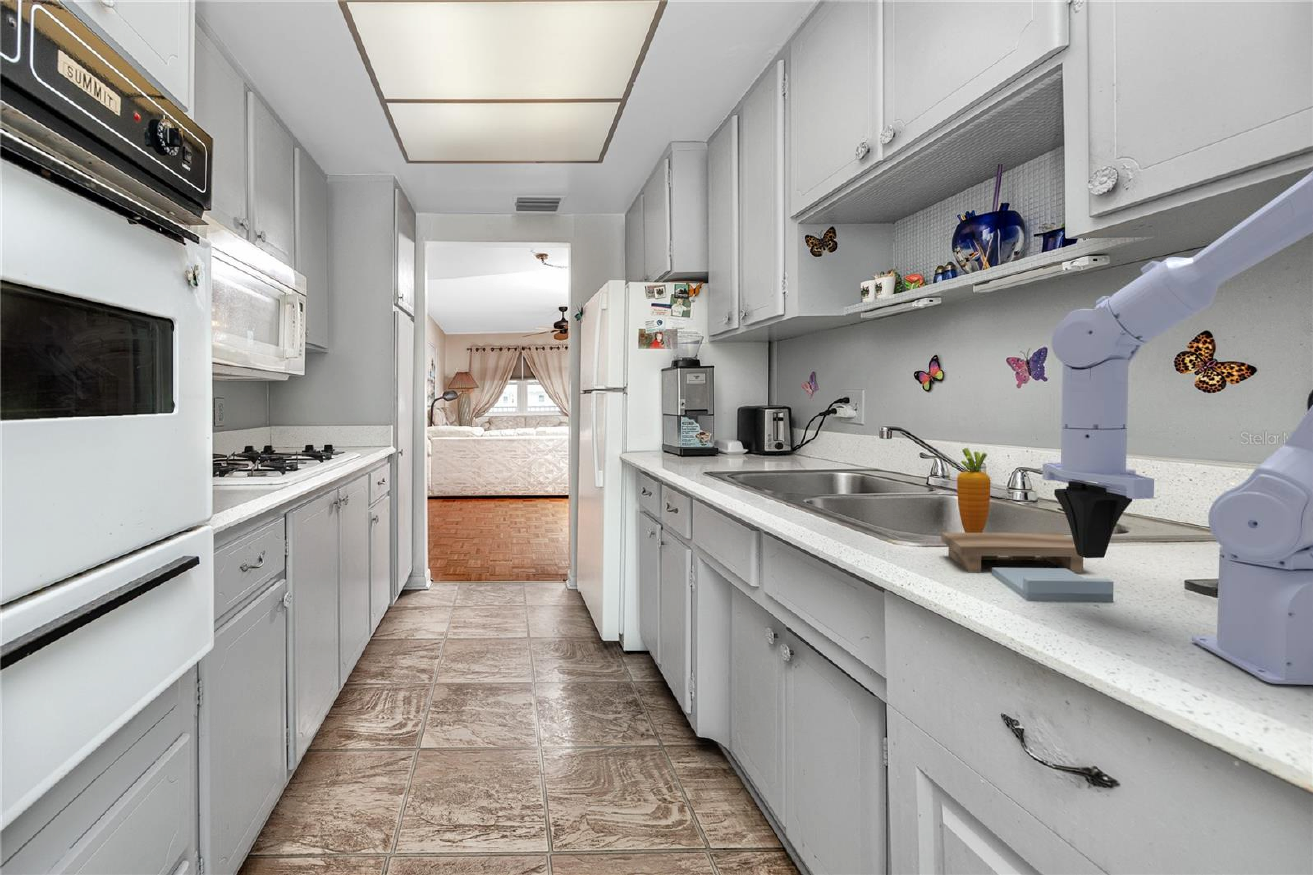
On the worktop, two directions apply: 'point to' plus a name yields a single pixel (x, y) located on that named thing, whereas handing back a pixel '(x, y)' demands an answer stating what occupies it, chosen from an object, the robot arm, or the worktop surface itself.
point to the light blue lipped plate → (1054, 585)
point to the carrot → (973, 494)
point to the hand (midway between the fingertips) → (1090, 556)
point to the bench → (1012, 548)
